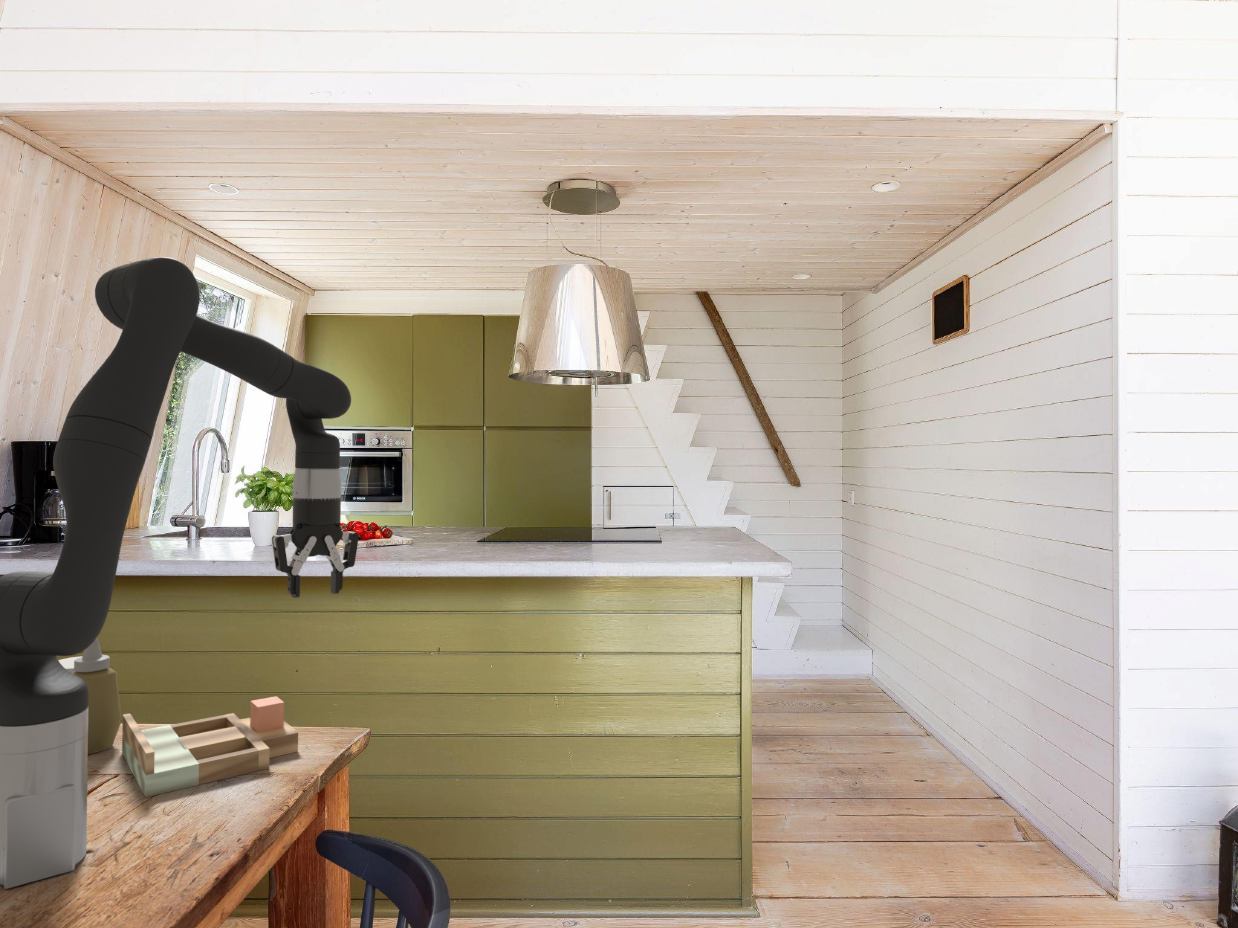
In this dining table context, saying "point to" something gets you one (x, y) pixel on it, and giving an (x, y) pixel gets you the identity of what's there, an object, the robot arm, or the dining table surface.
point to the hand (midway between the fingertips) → (315, 594)
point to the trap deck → (200, 751)
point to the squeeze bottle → (100, 697)
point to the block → (266, 714)
